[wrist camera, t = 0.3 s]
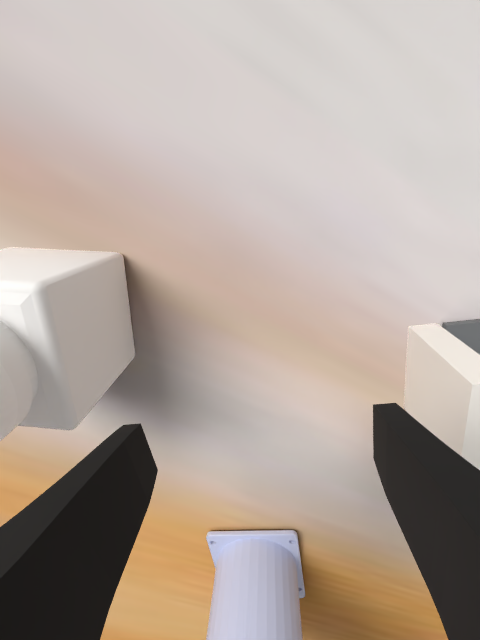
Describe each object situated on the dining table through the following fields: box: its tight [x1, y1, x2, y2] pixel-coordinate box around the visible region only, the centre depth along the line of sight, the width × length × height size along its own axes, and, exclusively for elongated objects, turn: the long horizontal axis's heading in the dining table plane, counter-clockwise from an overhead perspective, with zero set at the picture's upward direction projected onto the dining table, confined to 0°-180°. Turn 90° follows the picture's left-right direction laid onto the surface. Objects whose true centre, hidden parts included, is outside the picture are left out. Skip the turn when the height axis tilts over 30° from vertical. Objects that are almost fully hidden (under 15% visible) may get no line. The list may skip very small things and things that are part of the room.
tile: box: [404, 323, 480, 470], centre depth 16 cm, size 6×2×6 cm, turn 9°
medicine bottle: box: [0, 247, 135, 441], centre depth 13 cm, size 7×7×12 cm
